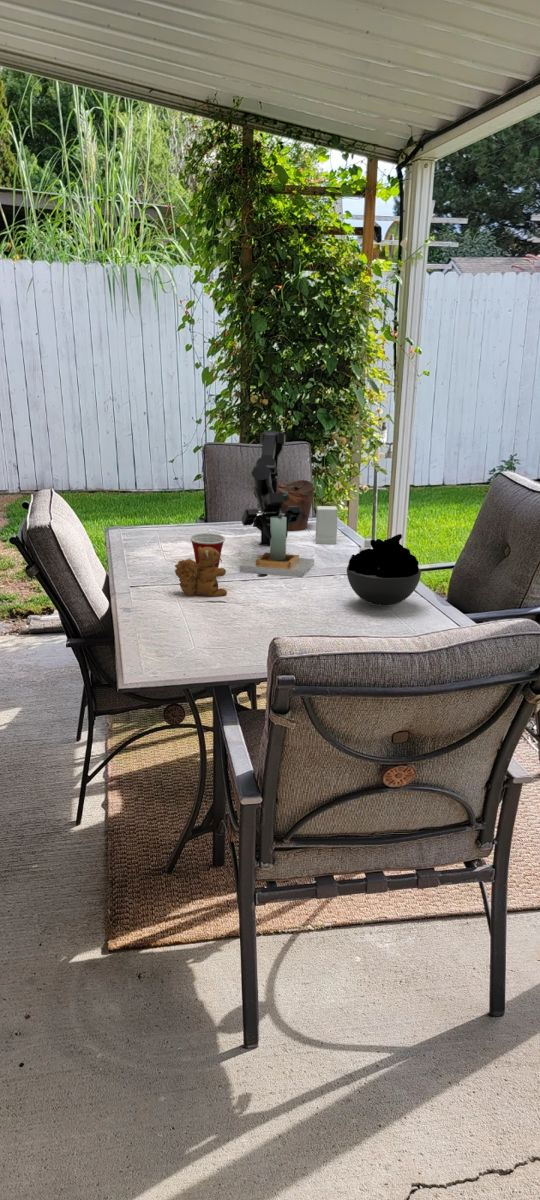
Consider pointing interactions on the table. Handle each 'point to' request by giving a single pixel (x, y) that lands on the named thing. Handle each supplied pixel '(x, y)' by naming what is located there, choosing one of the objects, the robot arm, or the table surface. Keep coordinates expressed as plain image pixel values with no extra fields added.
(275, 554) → the spout can
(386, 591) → the coal bowl
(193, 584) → the stuffed squirrel
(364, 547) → the eye dropper bottle
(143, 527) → the table surface
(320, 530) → the supplement box
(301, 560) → the grey flat block
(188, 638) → the table surface
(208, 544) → the plastic cup
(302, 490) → the brown wooden pot
